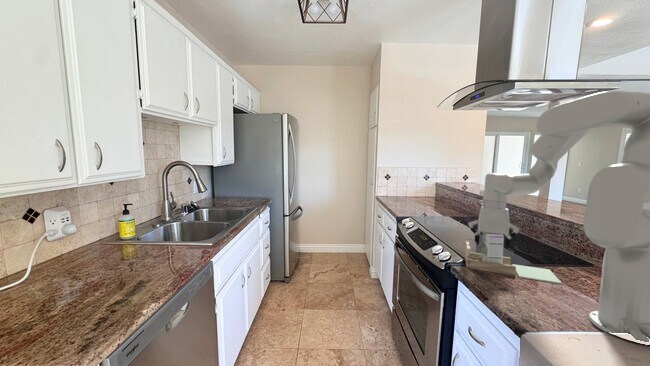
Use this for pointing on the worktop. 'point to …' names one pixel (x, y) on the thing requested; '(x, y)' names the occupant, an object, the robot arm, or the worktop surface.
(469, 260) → the frame
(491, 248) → the syrup box
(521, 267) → the mat
